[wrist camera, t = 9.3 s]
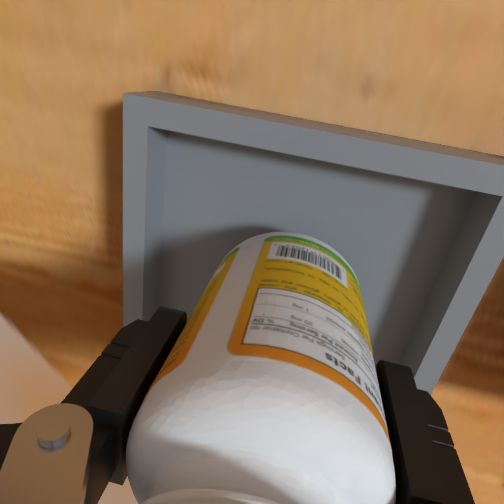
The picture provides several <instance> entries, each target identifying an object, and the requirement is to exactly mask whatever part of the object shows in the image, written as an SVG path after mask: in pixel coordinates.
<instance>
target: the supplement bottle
mask: <svg viewBox="0 0 504 504" xmlns="http://www.w3.org/2000/svg"><path fill="white" fill-rule="evenodd" d="M126 467H127V475H128V479H129V482H130V485H131V488H132V491H133V493H134V496H135V498H136V500H137V502H138V503H139V504H395V502H396V479H395V470H394V464H393V457H392V449H391V444H390V439H389V434H388V429H387V425H386V420H385V415H384V410H383V405H382V399H381V394H380V389H379V384H378V379H377V374H376V368H375V363H374V358H373V352H372V347H371V342H370V336H369V330H368V325H367V319H366V314H365V308H364V303H363V298H362V293H361V290H360V286H359V282H358V280H357V277H356V275H355V273H354V271H353V269H352V268H351V266H350V265H349V264H348V262H347V261H346V260H345V259H344V258H343V257H342V256H341V255H340V254H339V253H338V252H337V251H336V250H334V249H333V248H332V247H330V246H329V245H327V244H326V243H324V242H322V241H320V240H318V239H316V238H314V237H311V236H308V235H304V234H300V233H294V232H285V231H283V232H270V233H264V234H260V235H257V236H254V237H251V238H249V239H247V240H245V241H243V242H242V243H240V244H239V245H237V246H236V247H235V248H233V249H232V250H231V251H230V252H229V253H228V254H227V255H226V256H225V257H224V259H223V260H222V261H221V263H220V265H219V266H218V268H217V269H216V271H215V272H214V274H213V276H212V278H211V280H210V282H209V283H208V285H207V287H206V289H205V291H204V293H203V295H202V296H201V298H200V300H199V302H198V304H197V305H196V307H195V309H194V311H193V313H192V314H191V316H190V318H189V320H188V321H187V323H186V325H185V327H184V329H183V330H182V332H181V334H180V335H179V337H178V339H177V341H176V343H175V344H174V346H173V348H172V350H171V352H170V353H169V355H168V357H167V359H166V360H165V362H164V363H163V365H162V367H161V369H160V371H159V373H158V374H157V376H156V378H155V380H154V381H153V383H152V384H151V386H150V388H149V390H148V392H147V394H146V395H145V397H144V400H143V402H142V404H141V406H140V408H139V410H138V412H137V414H136V417H135V419H134V421H133V423H132V426H131V429H130V432H129V436H128V441H127V446H126Z"/></svg>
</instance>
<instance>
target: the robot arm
mask: <svg viewBox="0 0 504 504" xmlns="http://www.w3.org/2000/svg"><path fill="white" fill-rule="evenodd" d="M186 323H187V313H186V312H185V311H181V310H177V309H173V308H168V307H164V306H160V307H159V308H158V309H157V310H156V312H155V313H154V315H153V316H152V317H151V319H150V320H149V321H144V320H140V319H137V320H135V321H133V322H132V323H130V324H128V325H127V326H125V327H123V328H121V330H120V331H119V332H118V333H117V335H116V336H115V337H114V338H113V340H112V341H111V343H110V345H109V344H108V346H107V347H106V348H105V349H104V351H103V352H102V354H101V356H99V357H98V358H97V359H96V361H95V362H94V363H93V364H92V365H91V367H90V368H89V369H88V370H87V372H86V373H85V374H84V375H83V377H82V378H81V379H80V380H79V381H78V383H77V384H76V385H75V386H74V388H73V389H72V390H71V391H70V393H69V394H68V395H67V396H66V398H65V399H64V400H63V401H62V402H61V403H60V404H55V405H51V406H48V407H45V408H43V409H41V410H39V411H37V412H35V413H34V414H32V415H31V416H29V417H28V418H27V419H26V420H25V421H24V422H23V423H16V424H0V504H98V501H99V499H100V497H101V496H102V494H103V492H104V490H105V488H106V486H107V484H108V482H113V483H116V484H120V485H123V483H124V481H125V479H126V477H127V467H126V446H127V441H128V436H129V432H130V429H131V426H132V423H133V421H134V419H135V417H136V414H137V412H138V410H139V408H140V406H141V404H142V402H143V400H144V397H145V395H146V394H147V392H148V390H149V388H150V386H151V384H152V383H153V381H154V380H155V378H156V376H157V374H158V373H159V371H160V369H161V367H162V365H163V363H164V362H165V360H166V359H167V357H168V355H169V353H170V352H171V350H172V348H173V346H174V344H175V343H176V341H177V339H178V337H179V335H180V334H181V332H182V330H183V329H184V327H185V325H186ZM375 368H376V374H377V379H378V384H379V389H380V394H381V399H382V405H383V410H384V415H385V420H386V425H387V429H388V434H389V439H390V444H391V449H392V457H393V464H394V470H395V479H396V502H395V504H475V502H474V500H473V497H472V494H471V491H470V488H469V486H468V483H467V480H466V477H465V474H464V472H463V469H462V466H461V463H460V460H459V457H458V455H457V452H456V449H454V443H453V441H452V438H451V435H450V433H449V432H448V427H447V424H446V421H445V418H444V415H443V413H442V410H441V408H440V407H439V406H438V404H437V403H436V402H435V401H434V399H433V398H432V397H431V395H430V394H429V393H428V391H424V390H420V389H417V386H416V383H415V380H414V377H413V373H412V370H411V368H410V367H408V366H405V365H400V364H396V363H392V362H388V361H384V360H379V361H378V363H377V365H376V367H375Z"/></svg>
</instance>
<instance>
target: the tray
mask: <svg viewBox="0 0 504 504" xmlns="http://www.w3.org/2000/svg"><path fill="white" fill-rule="evenodd" d="M283 231H285V232H294V233H300V234H304V235H308V236H311V237H314V238H316V239H318V240H320V241H322V242H324V243H326V244H327V245H329V246H330V247H332V248H333V249H334V250H336V251H337V252H338V253H339V254H340V255H341V256H342V257H343V258H344V259H345V260H346V261H347V262H348V264H349V265H350V266H351V268H352V269H353V271H354V273H355V275H356V277H357V280H358V282H359V286H360V290H361V293H362V298H363V303H364V308H365V314H366V319H367V325H368V330H369V336H370V342H371V347H372V352H373V358H374V363H375V367H376V365H377V363H378V361H379V360H384V361H388V362H392V363H396V364H400V365H405V366H408V367H410V368H411V370H412V373H413V377H414V380H415V383H416V386H417V389H420V390H424V391H428V393H429V394H430V395H431V393H432V391H433V389H434V387H435V386H436V384H437V382H438V380H439V378H440V376H441V374H442V372H443V370H444V369H445V367H446V365H447V363H448V361H449V359H450V357H451V355H452V353H453V352H454V350H455V348H456V346H457V344H458V342H459V340H460V338H461V336H462V335H463V333H464V331H465V329H466V327H467V325H468V323H469V321H470V319H471V318H472V316H473V314H474V312H475V310H476V308H477V306H478V304H479V302H480V301H481V299H482V297H483V295H484V293H485V291H486V289H487V287H488V285H489V284H490V282H491V280H492V278H493V276H494V274H495V272H496V270H497V268H498V267H499V265H500V263H501V261H502V259H503V257H504V157H503V156H498V155H492V154H487V153H482V152H477V151H471V150H466V149H461V148H455V147H450V146H445V145H439V144H434V143H429V142H423V141H418V140H413V139H408V138H402V137H397V136H392V135H386V134H381V133H376V132H370V131H365V130H360V129H355V128H349V127H344V126H339V125H333V124H328V123H323V122H317V121H312V120H307V119H301V118H296V117H291V116H286V115H280V114H275V113H270V112H264V111H259V110H254V109H248V108H243V107H238V106H232V105H227V104H222V103H217V102H211V101H206V100H201V99H195V98H190V97H185V96H179V95H174V94H169V93H164V92H158V91H149V92H132V93H123V327H125V326H127V325H128V324H130V323H132V322H133V321H135V320H137V319H140V320H144V321H149V320H150V319H151V317H152V316H153V315H154V313H155V312H156V310H157V309H158V308H159V307H160V306H164V307H168V308H173V309H177V310H181V311H185V312H186V313H187V321H188V320H189V318H190V316H191V314H192V313H193V311H194V309H195V307H196V305H197V304H198V302H199V300H200V298H201V296H202V295H203V293H204V291H205V289H206V287H207V285H208V283H209V282H210V280H211V278H212V276H213V274H214V272H215V271H216V269H217V268H218V266H219V265H220V263H221V261H222V260H223V259H224V257H225V256H226V255H227V254H228V253H229V252H230V251H231V250H232V249H233V248H235V247H236V246H237V245H239V244H240V243H242V242H243V241H245V240H247V239H249V238H251V237H254V236H257V235H260V234H264V233H270V232H283Z"/></svg>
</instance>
